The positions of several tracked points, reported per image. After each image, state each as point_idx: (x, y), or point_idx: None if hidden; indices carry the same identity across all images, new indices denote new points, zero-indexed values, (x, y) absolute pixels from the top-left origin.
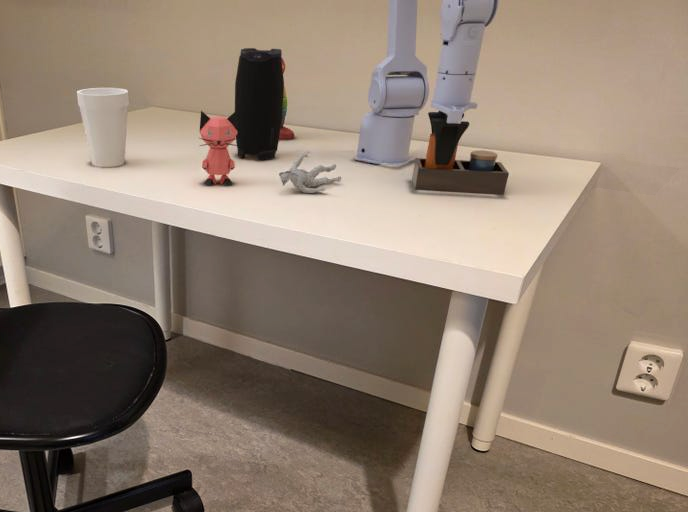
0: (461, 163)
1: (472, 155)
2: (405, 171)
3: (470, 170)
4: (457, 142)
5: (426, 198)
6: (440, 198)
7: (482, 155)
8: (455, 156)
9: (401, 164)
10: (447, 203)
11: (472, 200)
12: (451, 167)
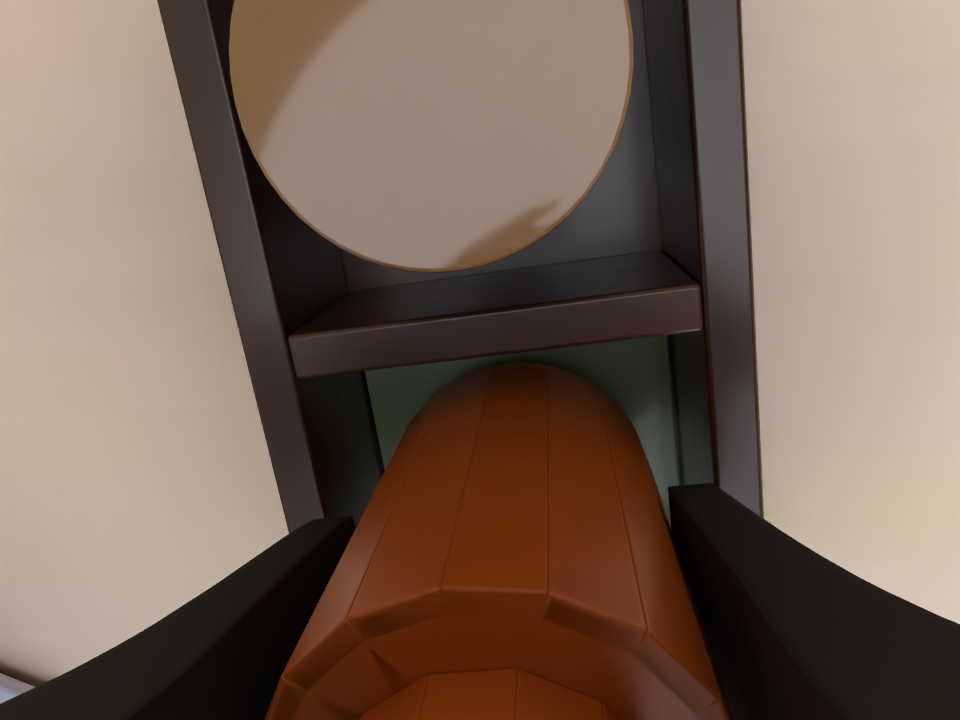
0: (291, 311)
1: (530, 241)
2: (119, 643)
3: (722, 219)
4: (920, 610)
5: (840, 492)
6: (813, 392)
7: (597, 95)
8: (549, 446)
9: (12, 690)
10: (955, 337)
11: (811, 133)
12: (601, 422)
